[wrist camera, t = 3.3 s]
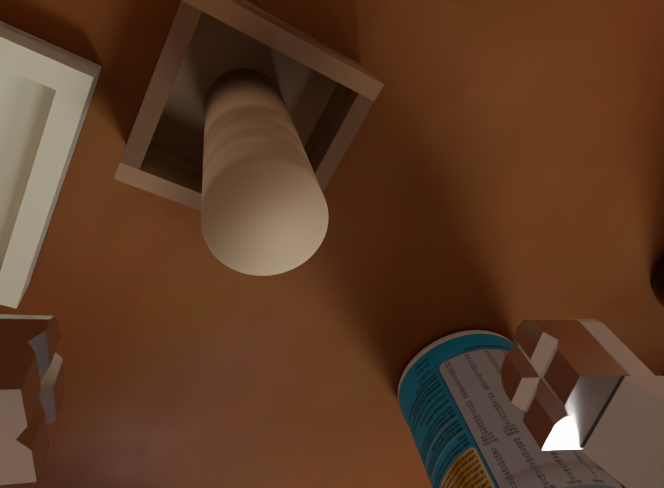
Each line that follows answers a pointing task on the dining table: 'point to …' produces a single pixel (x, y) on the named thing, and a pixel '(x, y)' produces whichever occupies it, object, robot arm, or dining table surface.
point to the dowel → (257, 179)
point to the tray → (35, 145)
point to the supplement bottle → (659, 282)
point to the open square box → (226, 55)
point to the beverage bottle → (481, 422)
